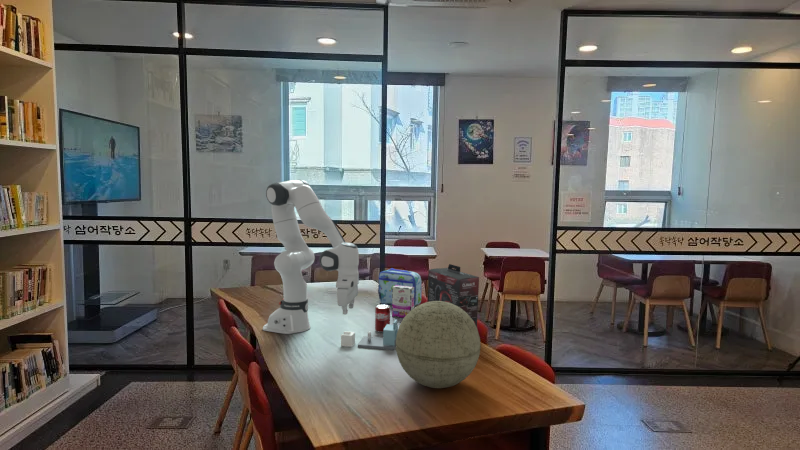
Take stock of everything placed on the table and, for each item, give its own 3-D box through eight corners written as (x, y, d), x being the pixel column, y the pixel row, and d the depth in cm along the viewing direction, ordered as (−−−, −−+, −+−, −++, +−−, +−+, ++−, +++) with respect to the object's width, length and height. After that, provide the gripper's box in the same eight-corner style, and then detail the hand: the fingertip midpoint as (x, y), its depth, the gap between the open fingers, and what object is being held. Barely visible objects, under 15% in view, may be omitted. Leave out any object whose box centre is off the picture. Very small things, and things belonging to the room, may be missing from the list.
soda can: (388, 333, 219) (388, 308, 217) (373, 332, 220) (373, 307, 219) (391, 328, 226) (391, 304, 225) (377, 327, 227) (377, 303, 226)
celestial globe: (417, 411, 145) (419, 318, 142) (382, 374, 172) (383, 295, 170) (496, 395, 157) (499, 309, 154) (452, 362, 184) (454, 289, 182)
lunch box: (375, 303, 272) (376, 268, 270) (385, 299, 281) (386, 265, 280) (413, 310, 259) (414, 273, 257) (422, 306, 268) (423, 270, 266)
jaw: (340, 346, 201) (340, 334, 201) (344, 342, 206) (344, 331, 205) (351, 346, 200) (352, 335, 200) (354, 342, 205) (355, 332, 205)
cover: (383, 344, 199) (383, 323, 198) (386, 338, 207) (387, 317, 206) (394, 345, 198) (394, 323, 198) (397, 339, 206) (397, 318, 206)
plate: (357, 347, 200) (357, 335, 199) (363, 338, 211) (363, 327, 210) (393, 350, 197) (393, 338, 197) (398, 341, 208) (398, 330, 208)
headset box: (478, 338, 213) (480, 268, 210) (457, 343, 207) (459, 271, 204) (445, 324, 234) (447, 260, 231) (425, 328, 227) (427, 262, 224)
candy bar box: (414, 316, 247) (414, 286, 245) (410, 319, 242) (411, 288, 241) (395, 314, 251) (395, 284, 249) (391, 316, 246) (391, 286, 245)
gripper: (348, 274, 211) (347, 304, 212) (334, 284, 191) (334, 317, 192) (361, 275, 210) (361, 305, 211) (349, 285, 190) (348, 318, 191)
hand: (348, 311), depth 202 cm, fingers open, 8 cm apart
